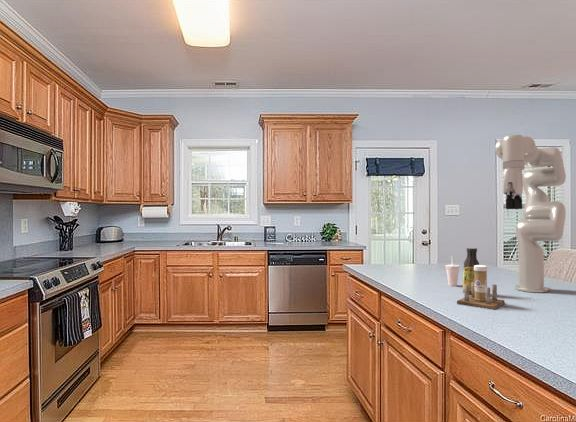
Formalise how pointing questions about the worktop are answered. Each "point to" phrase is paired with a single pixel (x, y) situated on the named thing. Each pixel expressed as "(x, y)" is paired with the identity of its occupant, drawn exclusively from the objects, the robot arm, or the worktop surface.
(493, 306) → the pin tray
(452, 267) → the smoothie
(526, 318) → the worktop surface
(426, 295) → the worktop surface
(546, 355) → the worktop surface
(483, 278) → the sprinkles bottle
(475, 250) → the sauce bottle
